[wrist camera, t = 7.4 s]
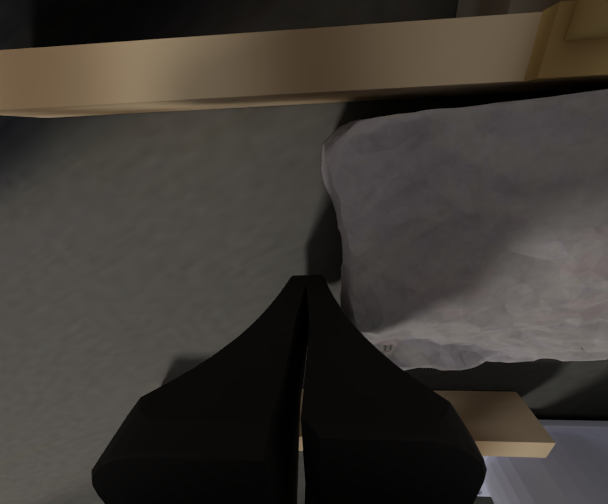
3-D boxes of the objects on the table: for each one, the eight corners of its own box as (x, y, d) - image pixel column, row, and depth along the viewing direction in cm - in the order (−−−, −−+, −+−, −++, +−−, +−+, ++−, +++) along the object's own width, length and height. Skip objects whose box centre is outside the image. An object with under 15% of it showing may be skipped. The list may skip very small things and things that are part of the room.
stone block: (564, 289, 13) (730, 42, 7) (665, 384, 9) (1199, 20, 3) (334, 301, 15) (315, 105, 9) (339, 387, 11) (311, 139, 5)
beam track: (751, -103, 6) (1228, -361, 3) (509, 406, 14) (564, 484, 11) (-18, -33, 7) (-277, -161, 4) (166, 400, 15) (126, 470, 12)
